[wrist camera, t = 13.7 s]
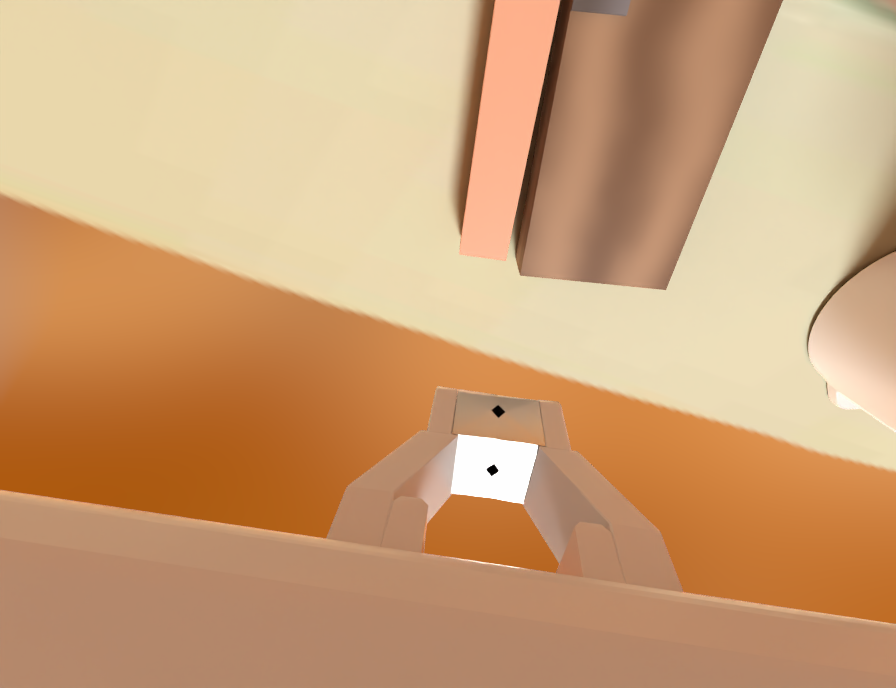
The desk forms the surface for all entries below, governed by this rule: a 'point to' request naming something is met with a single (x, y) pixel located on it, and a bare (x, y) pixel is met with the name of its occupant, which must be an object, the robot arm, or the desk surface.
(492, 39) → the stool leg
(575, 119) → the seat block
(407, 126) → the desk surface
